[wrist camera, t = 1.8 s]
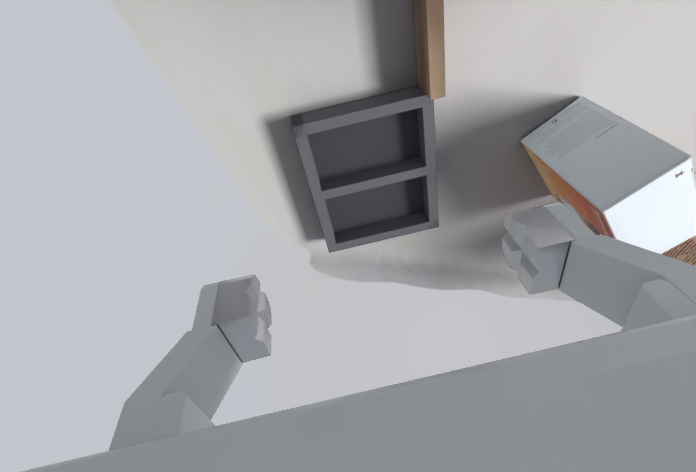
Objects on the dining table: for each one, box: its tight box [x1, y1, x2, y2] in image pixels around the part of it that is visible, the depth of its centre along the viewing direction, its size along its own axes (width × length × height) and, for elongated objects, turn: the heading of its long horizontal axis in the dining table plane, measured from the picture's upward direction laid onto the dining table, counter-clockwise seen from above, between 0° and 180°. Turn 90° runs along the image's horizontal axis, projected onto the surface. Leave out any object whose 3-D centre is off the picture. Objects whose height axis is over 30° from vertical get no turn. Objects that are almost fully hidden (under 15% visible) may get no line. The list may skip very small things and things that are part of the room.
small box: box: [521, 97, 696, 254], centre depth 29 cm, size 8×6×10 cm
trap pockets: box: [291, 86, 439, 253], centre depth 31 cm, size 10×12×2 cm
